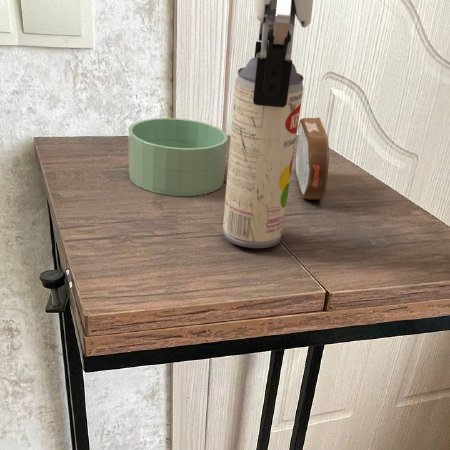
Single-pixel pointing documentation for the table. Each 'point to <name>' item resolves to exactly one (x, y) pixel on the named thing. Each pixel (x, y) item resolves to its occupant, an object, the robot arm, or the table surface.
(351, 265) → the table surface
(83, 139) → the table surface
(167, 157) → the bowl
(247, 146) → the aerosol can
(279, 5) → the robot arm
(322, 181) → the tin
